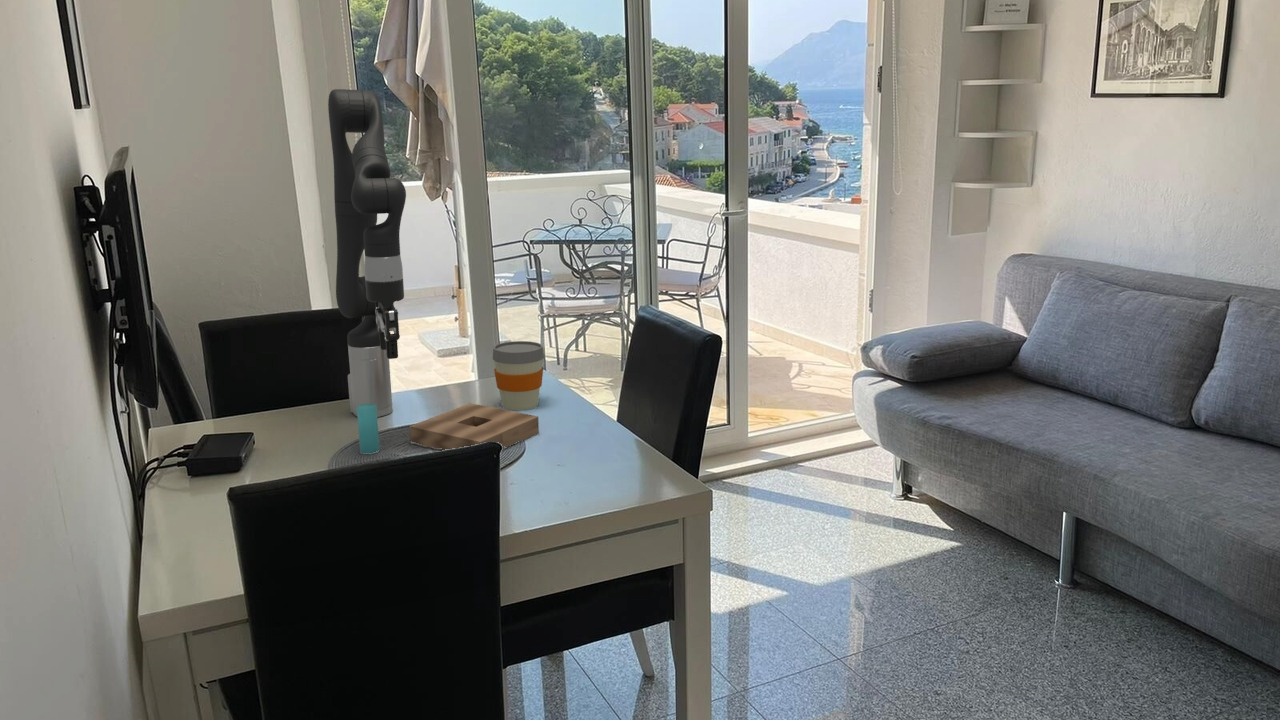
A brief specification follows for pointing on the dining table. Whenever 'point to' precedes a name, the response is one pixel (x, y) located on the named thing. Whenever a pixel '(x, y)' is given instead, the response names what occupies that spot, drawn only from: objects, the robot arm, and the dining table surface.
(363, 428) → the peg
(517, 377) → the reusable coffee cup
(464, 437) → the socket block
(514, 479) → the dining table surface
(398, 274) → the robot arm
